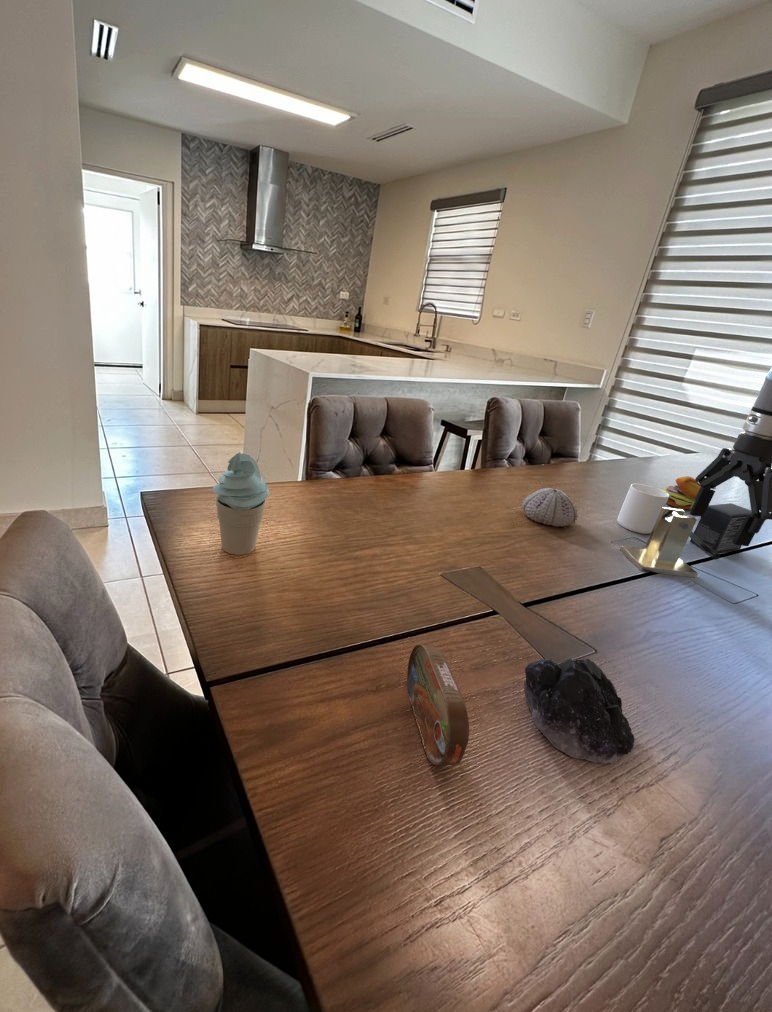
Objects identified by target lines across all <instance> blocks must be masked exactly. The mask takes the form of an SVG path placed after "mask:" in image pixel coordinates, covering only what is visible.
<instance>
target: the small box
mask: <svg viewBox="0 0 772 1012" xmlns="http://www.w3.org/2000/svg"><path fill="white" fill-rule="evenodd" d="M747 514H752V512H751V509H748V508H745V507H743V506H740V505H737V504H735V503H732V502H730V503H729V502H727V503H718V504H709V505H708V508H707V510H706V512H705V514H704V516H703V517H699V520H698V522H697V523H696V524H697V525H696V527H695V529H694V531H693V533H694V534H695V535H696V536H697V537H698V538H699V539H700V540H701V541H702V542H704V543H705V544H706V545H707V546H709V547H710V548H712V549H713V550H714V551H716V552H717V553H718V554H720V553H728V552H734V551H740V550H741V547H742V546H743V545H735V544H733V543H732V542H733V540H734V538H735V536H736V535H737V533H738V531H739V529H740V527H741V525H742V523H743V521H744V519H745V518H746V516H747ZM689 543H690V544H693V545H695V541H693V540H692V539H691V538H690V539H689Z"/></svg>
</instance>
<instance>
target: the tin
mask: <svg viewBox="0 0 772 1012" xmlns="http://www.w3.org/2000/svg"><path fill="white" fill-rule="evenodd" d="M409 655H410V656H409V659H408V662H407V663H408V664H407V672H406V689H407V695H408V694H409V696H410V698H411V703H412V706H414V710H415V711H414V712H415V714H416V716H415V717H416V719H417V722H418V724H419V726H420V730H421V734H422V737H423V739H424V746H425V747H426V748H425V750H426V751H424V753H425V752H426V754H425V756H426V755H427V756H426V759H428V761H429V762H430V764H432V765H433V766H439V765H442V766H456V765H458V764H460V762H461V761H462V759H463V757H464V755H465V752H466V750H467V746H468V744H469V740H470V739H469V738H470V722H469V714H468V709H467V705H466V703H465V700H464V698H463V696H462V693H461V690H460V688H459V685H458V683H457V682H456V679H455V677H454V674H453V671H452V669H451V667H450V665H449V663H448V661H447V658H446V655H445V654H444V652H443V651H442V650H441V648H438V647H436V646H430V645H429V646H428V645H423V644H416V645H415V646H414V647H413V648H412V649H411V653H410V654H409Z"/></svg>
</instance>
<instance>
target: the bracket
mask: <svg viewBox="0 0 772 1012" xmlns="http://www.w3.org/2000/svg"><path fill="white" fill-rule="evenodd" d="M673 511H675V512H676V513H678V514H679V515H681V516H678V515H673V518H672V520H671V522H670V523H669V522H668V521H667V520H666V519H665V517H667V516H668V515H669V514H670V513H672V512H673ZM685 513H686V512H685V509H681V508H675V507H674V508H673V507H666V506H665V507H662V509H661V511H660V514H659V516H658V518H657V521H656V523H655V525H654V527H653V530H652V532H651V533H650V534H649V537H648V539H647V542H646V544H645V546H644V548H642V547H634V546H626V545H621V546H620V549H619V551H620V552H621V553H622V554H623V555H624V556H625V557H626V558H627V559H628V560H629V561H630V562H631V563H632V564H633V565H634V566H635V567H636V568H638V569H639V571H641V572H647V573H654V574H655V573H656V574H663V575H670V576H677V577H685V578H692V579H697V577H698V576H699V572H697V571H696V570H695V569H694V568H693V567H691V566H690V565H689V564H687V562H685V561H684V560H683V559H682V558H680V557H681V555H682V553H683V550H684V548H685V546H686V545H687V542H688V540H689V538H690V537H689V536H690V534H691V532H693V529H694V527H695V525H696V524H697V520H698V519H697V518H696V517H695V516H693V517H692V516H687V515H686V516H685Z"/></svg>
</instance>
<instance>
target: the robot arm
mask: <svg viewBox="0 0 772 1012" xmlns="http://www.w3.org/2000/svg"><path fill="white" fill-rule="evenodd" d="M741 429H742V430H743V431H741V432H739V433H738V435H737V437H736V439H735V441H734V444H733V446H732V448H727V447H723V448H722V449H721V450H720V452H719V453H718V455H717V456H716V458H714V460H712V461H711V462H710V463H709V464H708V465H707V466H706V467H705V468H704V469H703V470H702V471H701V472H700V473H699V474H698V475H697V476H696V477H695V478H694V479H695V481H696V482H698V483H699V486H700V489H699V491H698V493H697V495H696V498H695V502H694V504H693V507H692V509H690V511H689V515H690V516H693V517H699V518H701V517H703V516H704V514H705V512H706V510H707V508H708V505H710V503H711V501H712V499H713V498H714V495H715V493H716V490H717V487H718V486H720V485H721V484H723V483H726V482H727V481H729V480H731V479H733V478H734V477H736V478H738V479H740V480H741V481H743V482H744V484H745V485H746V487H747V491H748V498H749V504H750V510H751V512H752V514H747V516H746V518H745V519H744V521H743V523H742V525H741V527H740V529H739V531H738V533H737V535H736V536H735V538H734V540H733V542H732V543H733V544H735V545H742V546H743V547H744V546H745V547H749V546H750V544H751V542H752V540H753V538H754V536H755V535H756V534H758V533H760V531H761V529H762V527H763V525H764V523H765V522H766V521H767V520H771V521H772V367H771V368H770V369H769V371H768V373H767V375H766V376H765V378H764V382H763V384H762V386H761V388H760V391H759V393H758V395H757V397H756V398H755V401H754V403H753V405H752V407H751V409H750V411H749V414H748V415H747V418H746V420H745V421H744V423H743V426H742V428H741Z"/></svg>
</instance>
